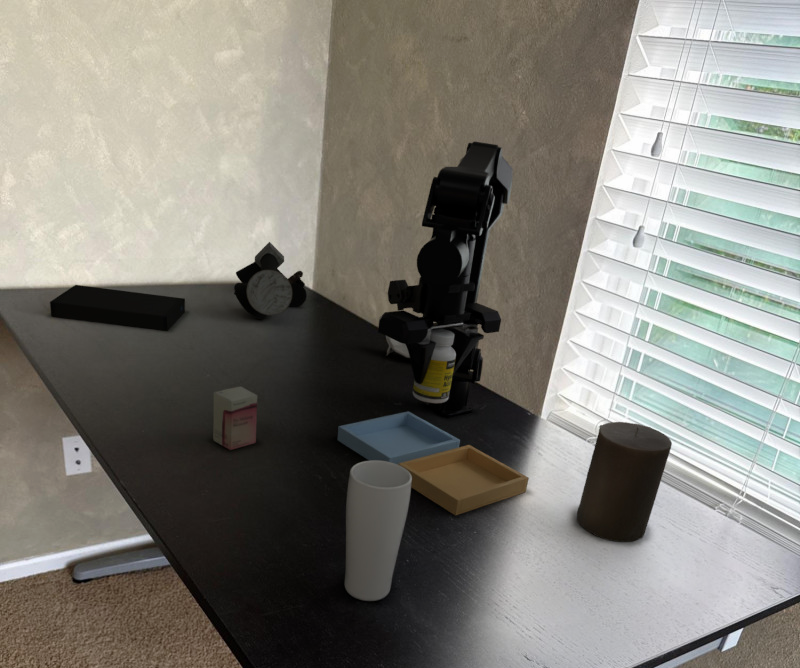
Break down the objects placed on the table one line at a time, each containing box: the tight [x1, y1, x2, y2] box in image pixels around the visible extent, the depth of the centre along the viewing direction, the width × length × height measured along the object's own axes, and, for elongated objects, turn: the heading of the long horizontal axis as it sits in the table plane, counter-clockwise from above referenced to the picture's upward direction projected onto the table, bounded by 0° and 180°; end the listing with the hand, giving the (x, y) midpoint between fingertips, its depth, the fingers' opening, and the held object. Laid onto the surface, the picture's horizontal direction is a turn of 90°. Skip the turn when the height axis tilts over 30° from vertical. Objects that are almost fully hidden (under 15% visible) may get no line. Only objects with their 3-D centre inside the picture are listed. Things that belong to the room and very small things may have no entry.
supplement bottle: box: [412, 329, 456, 403], centre depth 117 cm, size 5×5×10 cm
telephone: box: [233, 241, 308, 320], centre depth 184 cm, size 15×13×30 cm
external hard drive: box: [49, 284, 186, 332], centre depth 168 cm, size 14×23×3 cm, turn 89°
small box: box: [212, 386, 258, 451], centre depth 121 cm, size 5×4×8 cm
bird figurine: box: [384, 335, 410, 359], centre depth 165 cm, size 5×7×10 cm
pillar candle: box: [576, 421, 673, 542], centre depth 111 cm, size 10×10×15 cm
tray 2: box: [398, 444, 530, 516], centre depth 119 cm, size 15×13×2 cm
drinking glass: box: [343, 460, 412, 602], centre depth 90 cm, size 7×7×15 cm
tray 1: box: [337, 410, 461, 465], centre depth 128 cm, size 15×13×2 cm
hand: (433, 380), depth 118 cm, fingers closed on supplement bottle, 5 cm apart
